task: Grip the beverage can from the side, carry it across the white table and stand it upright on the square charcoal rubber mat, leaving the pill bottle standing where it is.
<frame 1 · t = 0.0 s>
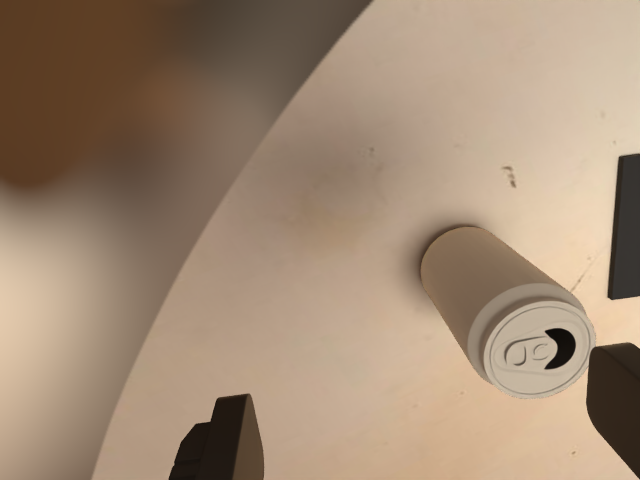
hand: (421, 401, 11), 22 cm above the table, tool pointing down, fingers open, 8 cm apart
beverage can: (458, 263, 34), on the table
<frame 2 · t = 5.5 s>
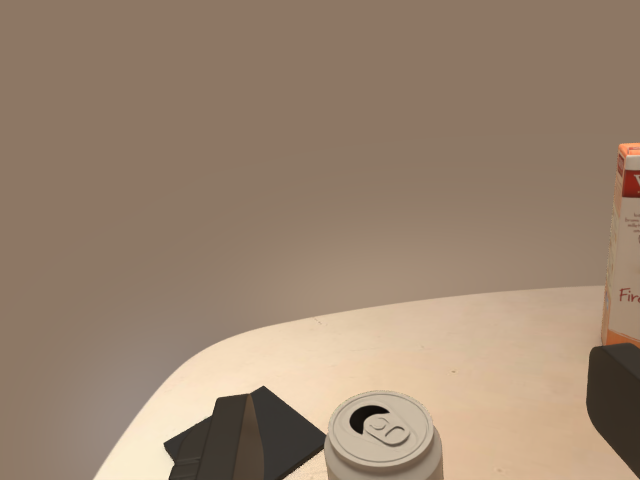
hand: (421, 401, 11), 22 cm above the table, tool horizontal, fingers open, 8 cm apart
mat: (245, 445, 40), on the table
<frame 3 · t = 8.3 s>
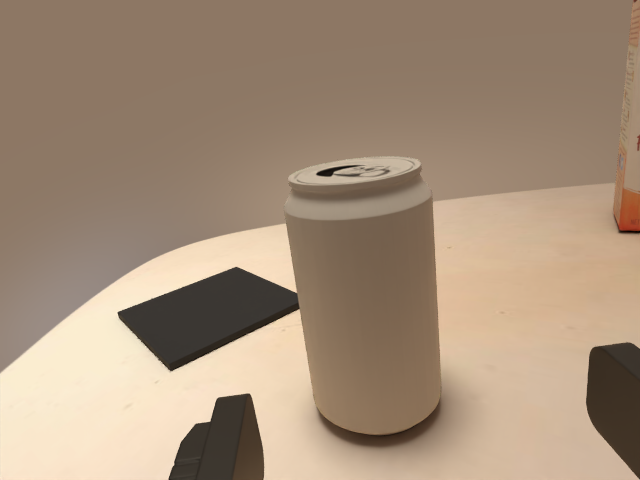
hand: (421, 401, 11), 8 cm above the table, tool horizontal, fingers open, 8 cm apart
beverage can: (378, 403, 23), on the table
mat: (211, 310, 35), on the table
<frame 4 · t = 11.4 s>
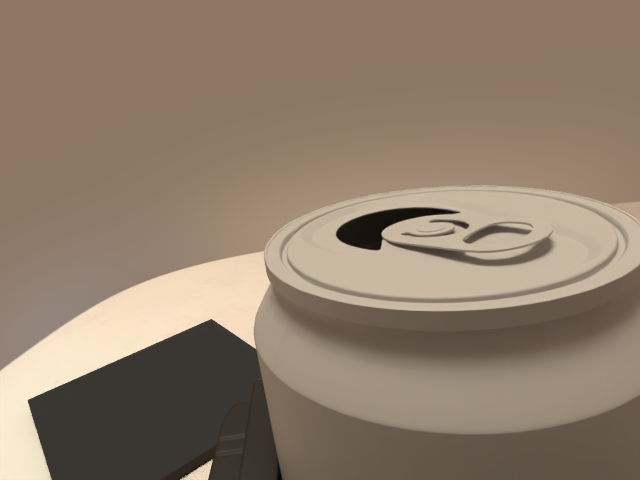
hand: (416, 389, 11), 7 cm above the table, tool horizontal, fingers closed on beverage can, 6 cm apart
mat: (165, 401, 23), on the table
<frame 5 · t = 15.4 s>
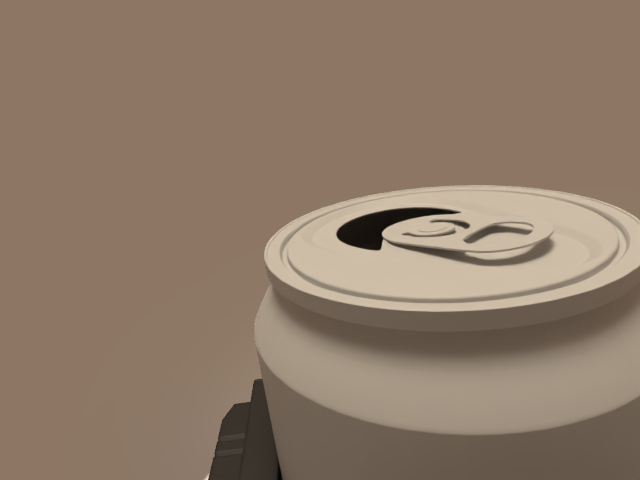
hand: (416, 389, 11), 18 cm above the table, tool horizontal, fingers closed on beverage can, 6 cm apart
when the fingers open (8 cm above the table, at t = 19.4 s): beverage can stays where it is, resting on mat.
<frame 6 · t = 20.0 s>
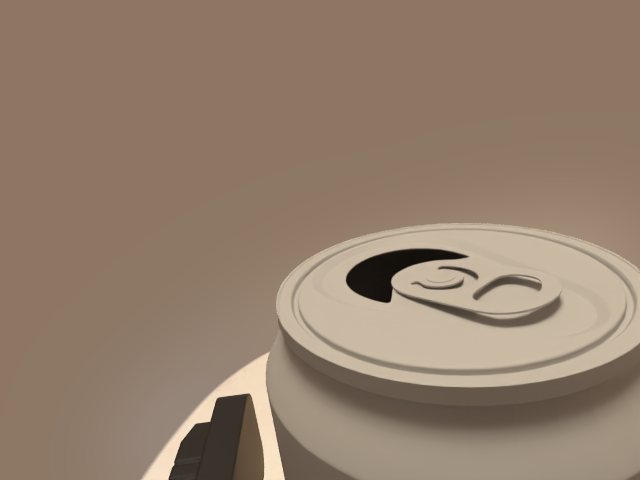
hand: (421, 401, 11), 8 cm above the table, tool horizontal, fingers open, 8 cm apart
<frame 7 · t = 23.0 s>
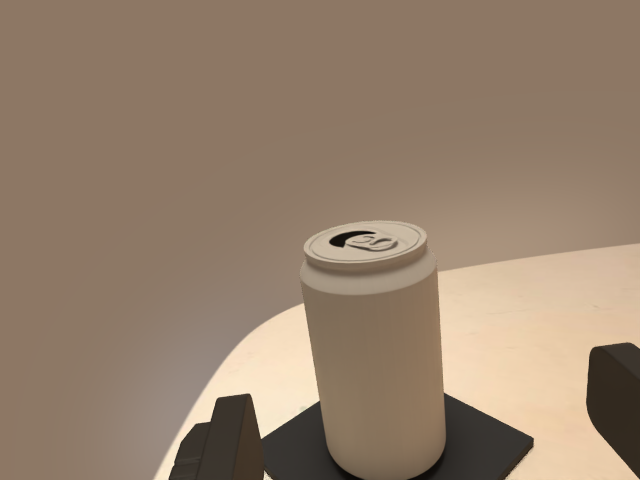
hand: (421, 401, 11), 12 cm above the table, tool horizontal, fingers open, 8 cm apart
beverage can: (386, 447, 24), resting on mat
mat: (385, 450, 25), on the table
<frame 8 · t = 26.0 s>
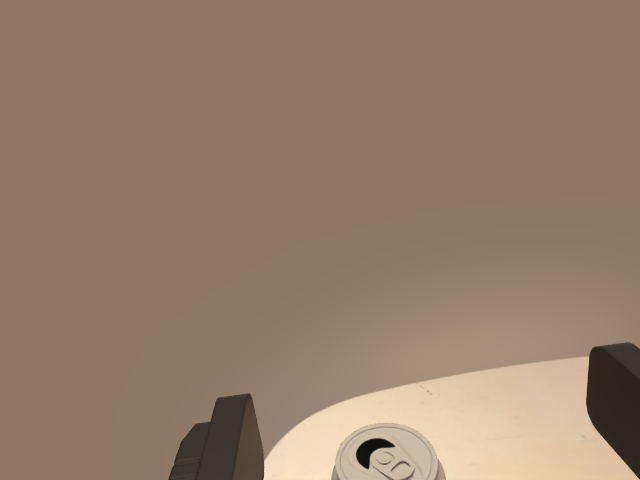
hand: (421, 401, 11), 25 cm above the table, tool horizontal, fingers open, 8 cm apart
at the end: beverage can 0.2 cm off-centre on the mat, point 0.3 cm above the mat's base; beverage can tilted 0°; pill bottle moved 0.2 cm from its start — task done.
